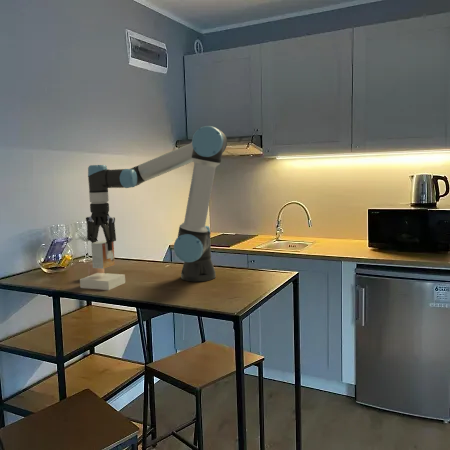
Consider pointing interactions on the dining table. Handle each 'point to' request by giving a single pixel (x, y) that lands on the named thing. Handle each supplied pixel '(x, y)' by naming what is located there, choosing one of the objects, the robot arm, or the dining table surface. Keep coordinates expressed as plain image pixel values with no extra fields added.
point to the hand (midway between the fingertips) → (102, 257)
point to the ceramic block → (102, 281)
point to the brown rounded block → (94, 269)
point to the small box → (101, 255)
